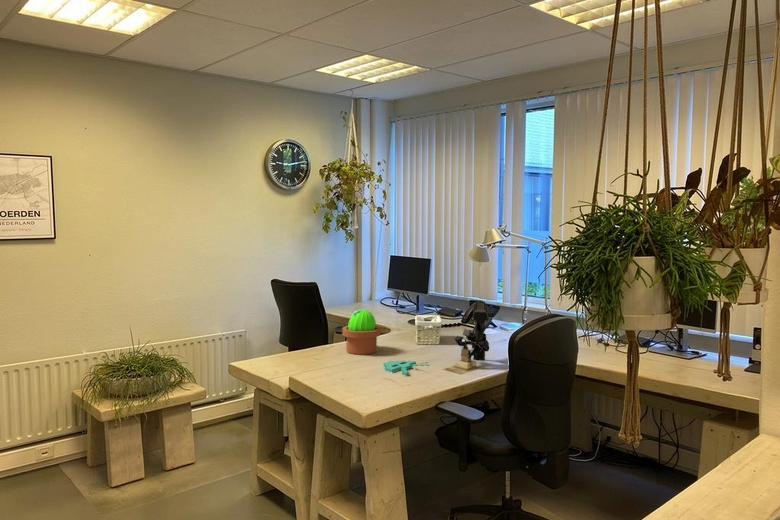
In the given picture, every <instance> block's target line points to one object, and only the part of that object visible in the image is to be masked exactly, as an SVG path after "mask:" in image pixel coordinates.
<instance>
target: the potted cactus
mask: <svg viewBox="0 0 780 520" xmlns="http://www.w3.org/2000/svg"><path fill="white" fill-rule="evenodd" d="M374 316H375V315H373V313H372V312H370V311H369V310H367V309H357V310H355V311H354V312H352V314H351V315H350V317H349V321H348V323H347V324H348V325H346V326H343V327H342V336H343V337H345V338H346V344H345V345H346V348H345V349H346V352H347V353H348V354H351V355H363V356H364V355H371V354H374V353H376V352H377V350H378V349H377V346H378V344H377V340H378V339H377V338H378V337H380V336H381V335H382V334H381V333H382V332H381V329H382V328H381V326H378V325H377V324H376V323H377V321H376V318H375V317H374Z"/></svg>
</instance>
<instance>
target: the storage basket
mask: <svg viewBox="0 0 780 520" xmlns="http://www.w3.org/2000/svg"><path fill="white" fill-rule="evenodd" d="M414 318H415V321H414V323H415V342H416V344H417V345H430V346H431V345H440V341H441V329H442V323H443V321H442V317H441V315H439V314H433V315H432V314H416V315H415V317H414Z"/></svg>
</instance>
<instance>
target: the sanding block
mask: <svg viewBox="0 0 780 520" xmlns="http://www.w3.org/2000/svg"><path fill="white" fill-rule="evenodd" d="M470 351H471V349H469V348H468V349H462V354H461V353H460V356H461V359H460V360H457V361H455V365H456V367H457V368H461V369H465V370H469V369H472V368H475V367H476V366H477V360H473V359H472V357H470V358H468V355H469V353H470Z"/></svg>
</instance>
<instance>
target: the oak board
mask: <svg viewBox="0 0 780 520" xmlns="http://www.w3.org/2000/svg"><path fill="white" fill-rule="evenodd" d="M481 368H482V366H478V365H476V367H475V368H472V369H469V370H465V369H461V368H457V367H456V364H454V365H453V366H449V367H445V368H442V369H441V370H442V371H446V372H450V373H454V374H458V375H463V374H466V373H469V372H472V371H476V370H479V369H481Z"/></svg>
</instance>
